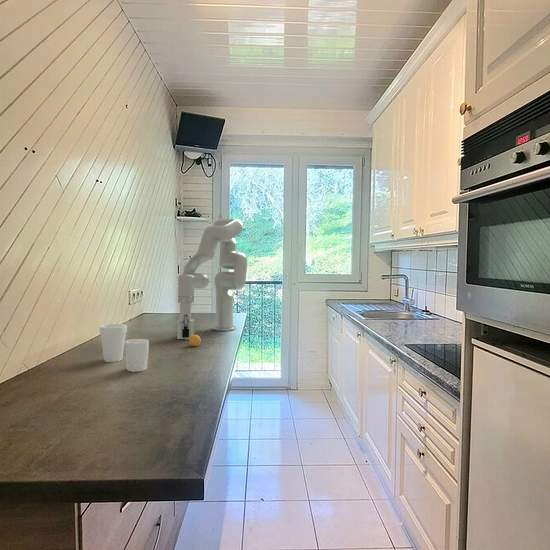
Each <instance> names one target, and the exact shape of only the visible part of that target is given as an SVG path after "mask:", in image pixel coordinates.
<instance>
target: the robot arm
mask: <svg viewBox="0 0 550 550" xmlns="http://www.w3.org/2000/svg"><path fill="white" fill-rule="evenodd" d="M243 229H244V226H243V222H242V221H241V220H240V219H239V218H238V219H237V218H221V219H217V220H215V221H214V222H213V225H209V226H207V227H205V229H204V230H203V233H202V237H201V240H200V242H199V245H198V248H197V250H196V251H197V252H196V253H195V254H194V255H193V256H192V257H191V258H190V259H189V260H188V262H186V264H185V265H184V269H183V272H182V273H181V274H179V275H178V277H177V278H178V279H177V282H178V283H177V285H178V287H177V290H178V291H177V303H178V304H179V319H180V324H181V323H183V329H182V337H183V338H184V337H189V323H190V319H191V318H192V304H194V302H195V289H205V288H207V287H208V286H209V283H210V278H209V277H208V275H206V274H205V273H197V272H196V271H197V269H198V268H199V267H200V266H202V265H203V264H205V263H207V262H208V261H211V260H212V259H213V258H214V257H215V252H216V249H217V246H218V243H220V253H219V266H220V268H221V269H224V270H233V271H219V272H217V274H215V276H214V280H213V281H214V286H215V297H216V298H215V325H214V326H212V330H213V331H218V332H219V331H220V332H222V331H223V332H228V331H235V330H236V329H237V326H234V293H233V292H232V291H240V290H242V289H244V287H245V285H246V281H247V280H246V279H247V272H248V270H247V269H248V257H247V256H246V255H245V253H243V252H239V251H237V240H236V237H238V236H240V234H241V233H242V232H243ZM183 321H185V323H184V322H183ZM187 321H189V322H187ZM187 328H188V329H187Z"/></svg>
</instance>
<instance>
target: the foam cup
mask: <svg viewBox="0 0 550 550" xmlns="http://www.w3.org/2000/svg"><path fill="white" fill-rule="evenodd" d="M127 332H128V325H127V324H125V323H107V324H102V325H99V334H100V338H101V339H100V340H101V347H102V353H103V361H104V362H107V363H117V362H120V360H121V361H122V360H123V357H124V350H125V341H126V336H127ZM116 361H117V362H116Z"/></svg>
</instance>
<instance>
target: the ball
mask: <svg viewBox="0 0 550 550" xmlns="http://www.w3.org/2000/svg"><path fill="white" fill-rule="evenodd" d="M188 340H189V341H188V342H189V345H191V346H192V347H197V346H199V345H200V344H201V342H202V341H201V337H200V336H199V335H198V334H194V335H192V336H191V337H190V339H188Z"/></svg>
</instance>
